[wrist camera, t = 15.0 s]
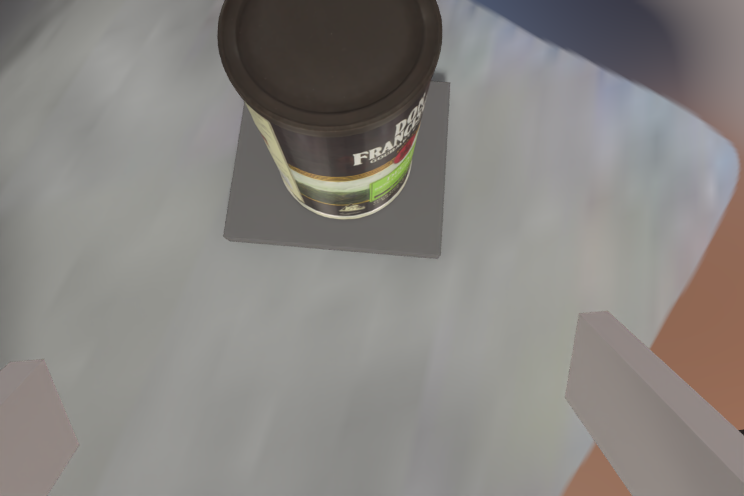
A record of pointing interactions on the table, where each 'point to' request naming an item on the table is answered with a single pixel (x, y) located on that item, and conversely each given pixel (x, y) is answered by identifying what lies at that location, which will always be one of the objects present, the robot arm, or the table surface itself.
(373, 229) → the mat
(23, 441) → the robot arm
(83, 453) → the table surface
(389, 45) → the coffee can
